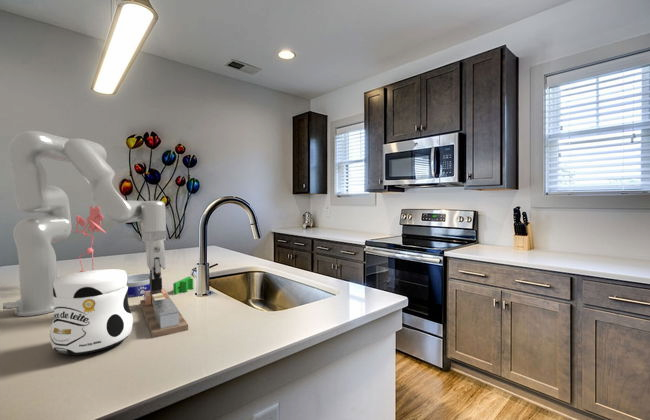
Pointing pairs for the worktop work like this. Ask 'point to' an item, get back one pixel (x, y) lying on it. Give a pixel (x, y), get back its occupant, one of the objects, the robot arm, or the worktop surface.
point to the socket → (148, 296)
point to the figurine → (93, 222)
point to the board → (153, 322)
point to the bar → (155, 293)
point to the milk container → (90, 311)
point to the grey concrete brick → (166, 313)
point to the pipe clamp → (183, 285)
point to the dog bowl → (138, 284)
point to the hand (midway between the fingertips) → (155, 287)
